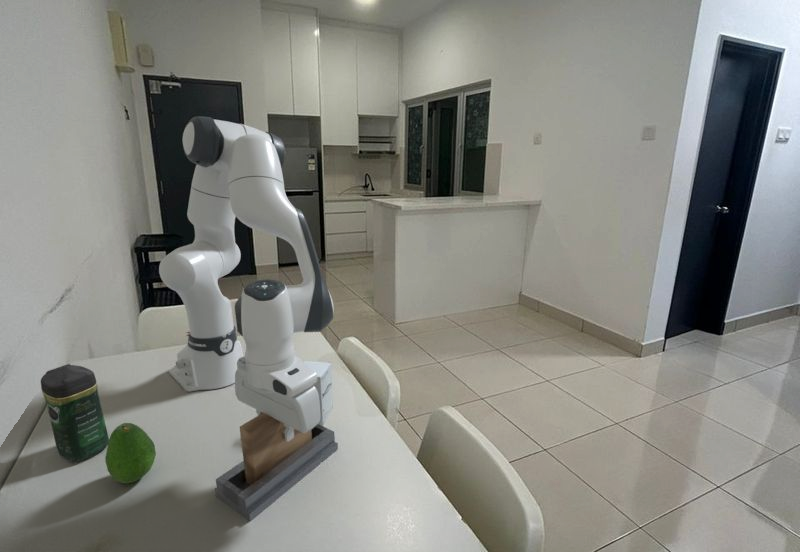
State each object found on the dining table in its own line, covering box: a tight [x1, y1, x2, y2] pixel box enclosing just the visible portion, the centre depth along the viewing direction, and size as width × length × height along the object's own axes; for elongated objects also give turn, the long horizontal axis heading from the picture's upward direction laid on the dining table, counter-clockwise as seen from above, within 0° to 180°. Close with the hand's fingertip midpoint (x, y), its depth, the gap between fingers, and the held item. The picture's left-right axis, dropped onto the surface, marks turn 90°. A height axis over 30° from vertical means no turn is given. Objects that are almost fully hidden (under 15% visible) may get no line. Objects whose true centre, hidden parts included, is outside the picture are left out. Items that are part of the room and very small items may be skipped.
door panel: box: [239, 413, 312, 485], centre depth 80 cm, size 3×14×12 cm, turn 146°
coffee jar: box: [40, 363, 110, 463], centre depth 86 cm, size 10×8×19 cm
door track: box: [214, 424, 339, 522], centre depth 81 cm, size 10×22×4 cm, turn 146°
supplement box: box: [302, 360, 334, 426], centre depth 98 cm, size 7×7×13 cm
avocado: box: [104, 422, 157, 484], centre depth 78 cm, size 8×8×12 cm
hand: (277, 433), depth 79 cm, fingers open, 4 cm apart
